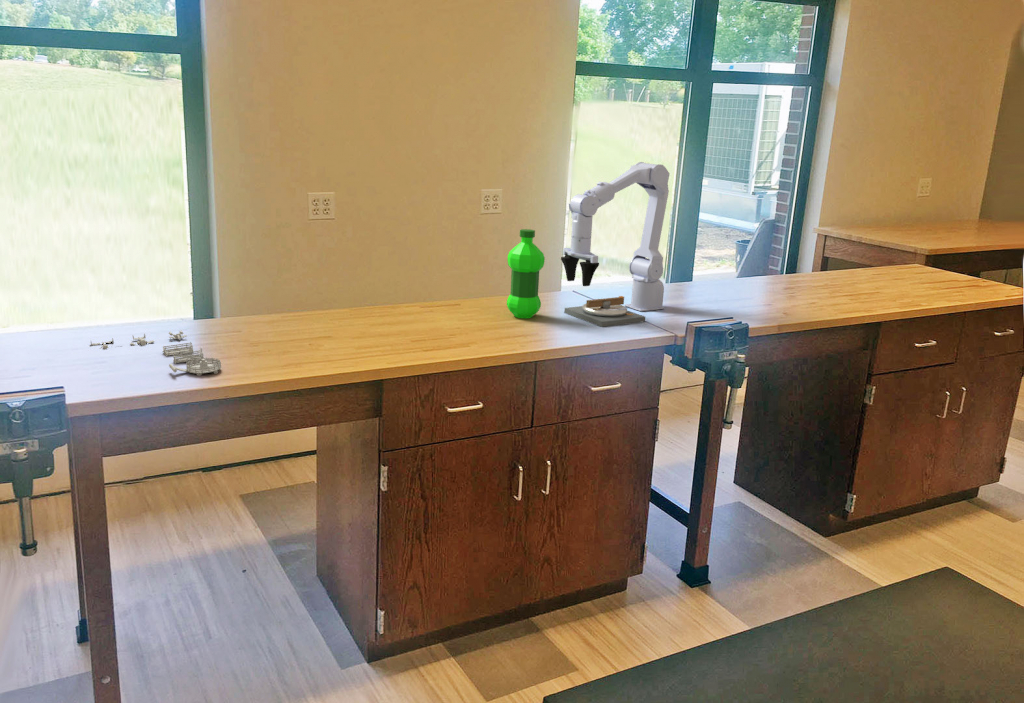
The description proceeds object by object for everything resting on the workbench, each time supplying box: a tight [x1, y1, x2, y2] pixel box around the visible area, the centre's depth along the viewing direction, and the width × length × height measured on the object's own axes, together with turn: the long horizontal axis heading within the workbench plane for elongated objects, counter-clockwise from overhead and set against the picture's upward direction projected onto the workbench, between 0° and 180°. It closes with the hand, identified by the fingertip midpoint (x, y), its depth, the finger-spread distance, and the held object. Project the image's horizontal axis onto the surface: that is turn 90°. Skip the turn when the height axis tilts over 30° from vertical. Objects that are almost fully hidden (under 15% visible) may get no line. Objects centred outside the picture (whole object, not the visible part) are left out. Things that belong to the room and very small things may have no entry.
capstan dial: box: [582, 295, 628, 317], centre depth 258 cm, size 13×13×4 cm
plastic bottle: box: [506, 228, 545, 319], centre depth 252 cm, size 10×11×25 cm
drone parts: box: [90, 330, 222, 376], centre depth 200 cm, size 23×35×3 cm, turn 32°
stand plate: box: [563, 305, 646, 328], centre depth 259 cm, size 16×18×2 cm
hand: (578, 283), depth 257 cm, fingers open, 7 cm apart
